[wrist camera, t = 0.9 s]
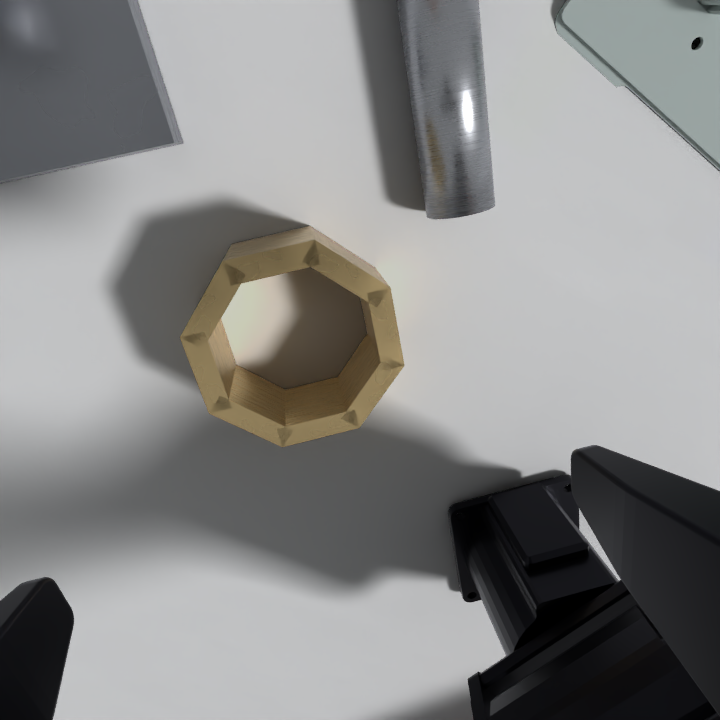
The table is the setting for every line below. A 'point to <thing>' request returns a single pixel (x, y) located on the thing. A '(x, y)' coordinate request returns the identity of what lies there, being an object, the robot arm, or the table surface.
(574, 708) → the robot arm
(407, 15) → the steel pin
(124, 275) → the table surface
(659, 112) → the metal bracket
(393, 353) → the collar ring
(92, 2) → the square base plate
